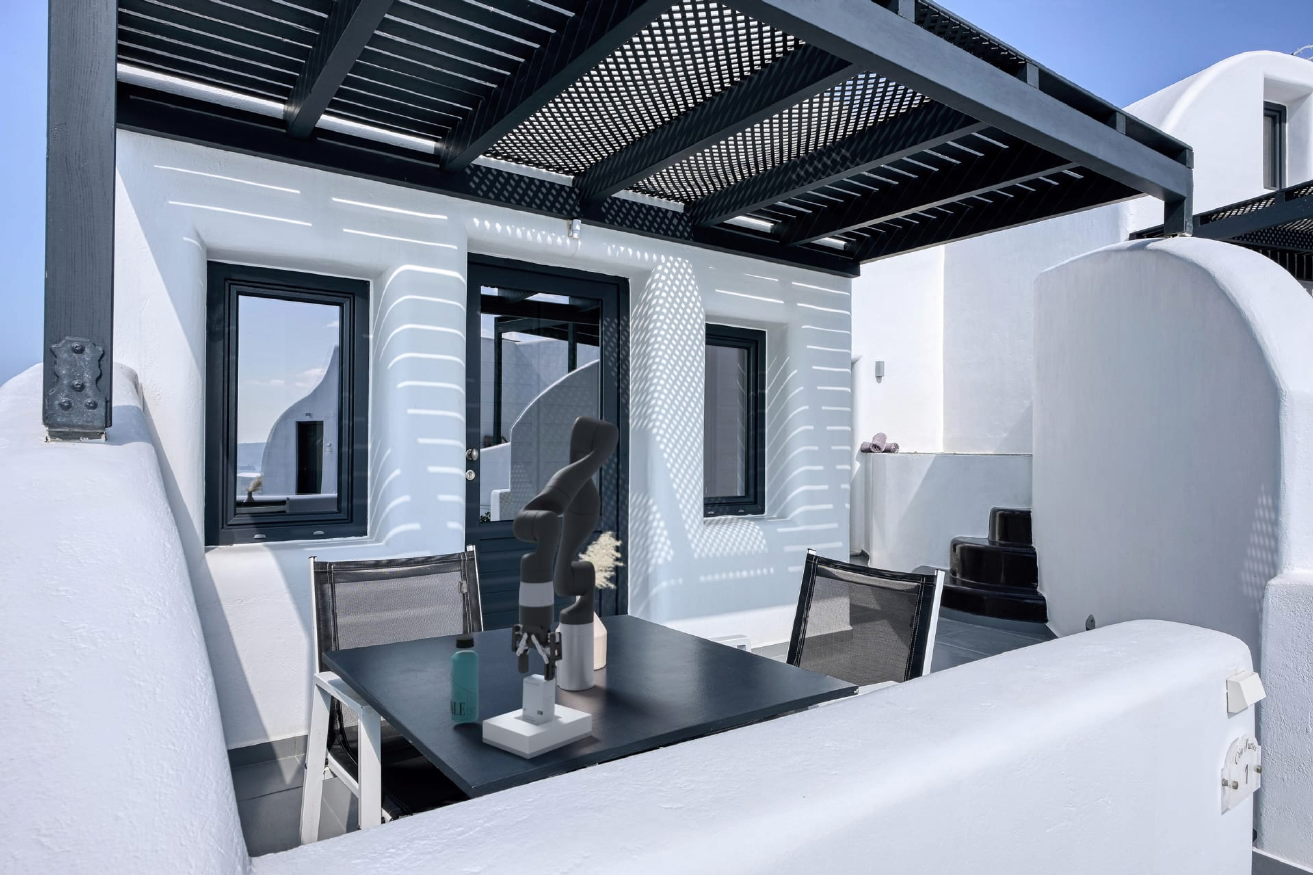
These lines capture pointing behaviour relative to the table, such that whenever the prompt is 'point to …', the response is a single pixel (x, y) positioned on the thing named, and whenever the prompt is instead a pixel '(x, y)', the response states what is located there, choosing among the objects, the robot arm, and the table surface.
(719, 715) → the table surface
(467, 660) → the beverage bottle
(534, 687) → the skincare box
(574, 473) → the robot arm
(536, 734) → the white flat block
